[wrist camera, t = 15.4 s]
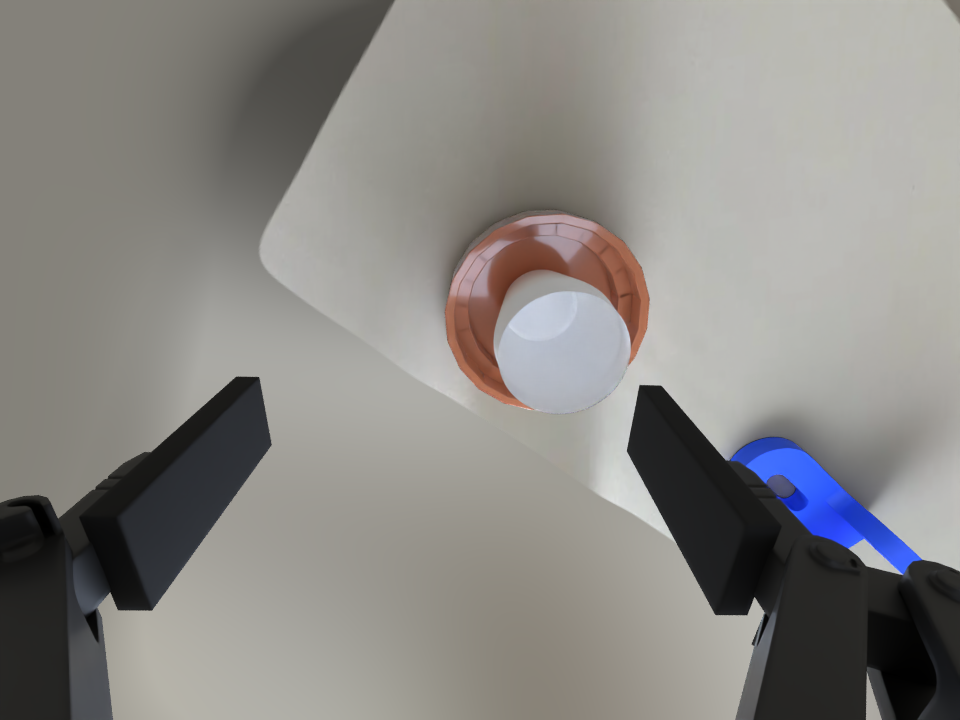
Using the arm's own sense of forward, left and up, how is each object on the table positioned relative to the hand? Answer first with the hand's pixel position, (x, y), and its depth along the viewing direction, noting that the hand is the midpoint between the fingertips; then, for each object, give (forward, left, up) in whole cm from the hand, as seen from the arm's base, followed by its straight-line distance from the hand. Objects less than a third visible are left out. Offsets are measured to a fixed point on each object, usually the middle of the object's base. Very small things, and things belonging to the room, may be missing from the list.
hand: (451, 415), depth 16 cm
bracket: (+43, -2, -26) cm, 51 cm away
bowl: (+7, +1, -26) cm, 27 cm away
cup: (+7, +1, -25) cm, 26 cm away
